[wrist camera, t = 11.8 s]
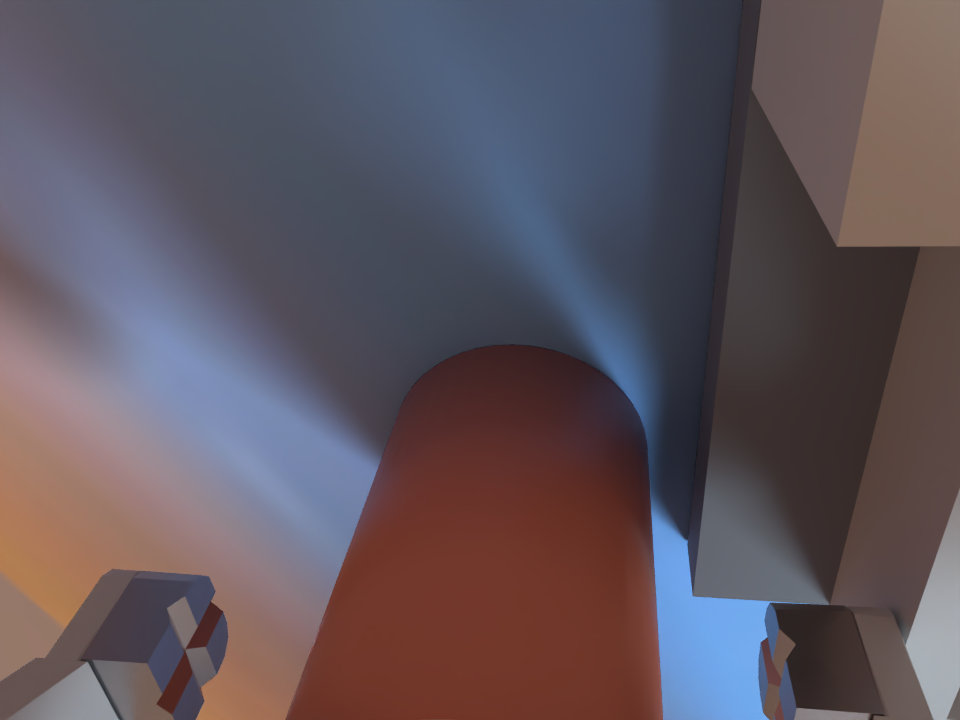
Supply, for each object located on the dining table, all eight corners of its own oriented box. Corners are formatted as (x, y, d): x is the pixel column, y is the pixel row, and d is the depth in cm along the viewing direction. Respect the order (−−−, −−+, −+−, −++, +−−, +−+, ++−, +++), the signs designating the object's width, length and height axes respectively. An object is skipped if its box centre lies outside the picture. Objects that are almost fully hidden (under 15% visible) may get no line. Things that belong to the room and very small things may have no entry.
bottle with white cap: (654, 347, 12) (688, 751, 7) (642, 547, 15) (659, 966, 9) (379, 342, 13) (212, 707, 8) (410, 535, 15) (300, 918, 10)
